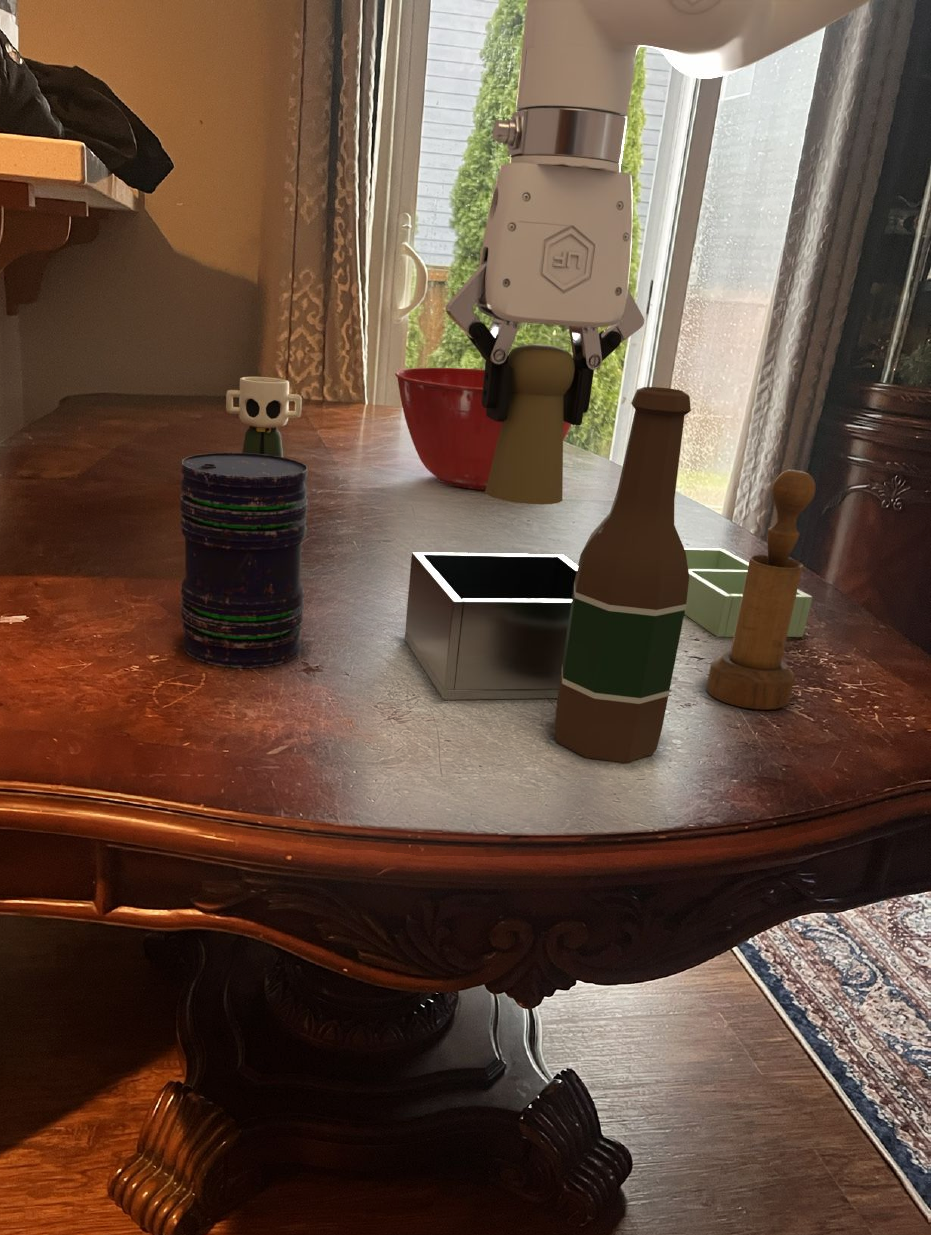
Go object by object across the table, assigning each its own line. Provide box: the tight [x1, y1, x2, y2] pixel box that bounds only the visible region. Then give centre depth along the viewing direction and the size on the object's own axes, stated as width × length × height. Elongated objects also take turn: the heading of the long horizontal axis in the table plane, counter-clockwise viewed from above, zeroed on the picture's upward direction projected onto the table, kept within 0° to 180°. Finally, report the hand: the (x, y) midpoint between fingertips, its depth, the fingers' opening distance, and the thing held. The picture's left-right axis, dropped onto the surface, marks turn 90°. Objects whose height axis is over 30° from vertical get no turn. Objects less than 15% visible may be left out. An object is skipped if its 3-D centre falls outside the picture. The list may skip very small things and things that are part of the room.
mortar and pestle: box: [705, 469, 816, 711], centre depth 81 cm, size 7×6×18 cm
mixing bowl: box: [394, 367, 573, 491], centre depth 158 cm, size 28×28×16 cm
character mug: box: [225, 376, 303, 458], centre depth 154 cm, size 11×7×13 cm, turn 93°
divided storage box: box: [684, 547, 813, 638], centre depth 106 cm, size 9×17×4 cm, turn 12°
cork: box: [484, 343, 575, 506], centre depth 79 cm, size 6×6×11 cm
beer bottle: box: [554, 386, 692, 764], centre depth 70 cm, size 8×8×24 cm
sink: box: [404, 551, 578, 701], centre depth 85 cm, size 14×14×8 cm
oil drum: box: [179, 452, 309, 669], centre depth 84 cm, size 10×10×15 cm
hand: (533, 418), depth 79 cm, fingers closed on cork, 5 cm apart
